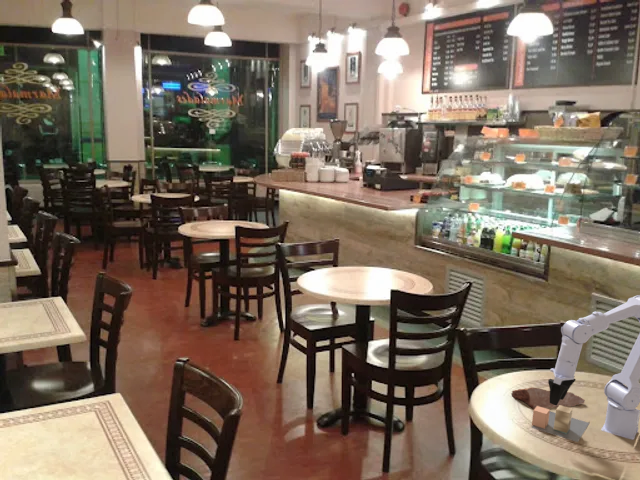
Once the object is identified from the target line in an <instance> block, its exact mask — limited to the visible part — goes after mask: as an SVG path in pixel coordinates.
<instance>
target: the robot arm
mask: <svg viewBox="0 0 640 480" xmlns="http://www.w3.org/2000/svg"><path fill="white" fill-rule="evenodd" d="M631 317H635V319H636V320H638V322H639V324H640V294H637V295H635V296H632V297H629V298H628V299H627V301H626V302H624V303H622V304H620V305H618V306H616V307H614V308H612V309H610V310H608V311H606V312H601V311H596V310H595V311H593V312H592V313H591V314H589V315H587V316H584V317H579V318H578V319H577V320H574V319H570V320H567V321H566V322H565V323H564V324H563V325H562V326H561V328H560V332H561V335H562V337H561V344H560V350H559V353H558V357H557V360H556V363H555V367H553V368H550V370H549V371H550V372H552V373H553V376H554V378H553V379H552V378H549V379H548V381H547V383H548V386H549V391H550V403H551V404H553V405H557V404H558V403H559V401H560V399H561V400H563V399H564V397H565V395H566V393H567V392H569V389H570V388H571V386H572V385H573V384H574V383H575V382H576V378H575V374H576V370H577V366H578V363H579V359H580V354H581V352H582V350H583V349H582V348H583V345H584V344H586V342H588V341H589V339H590V338H591V337H592V336H593V335H596V334H598V333H601V332H603V331H606V330H607V329H608V328H609V326H610V325H611V324H613V323H615V322H619V321H623V320H625V319H628V318H631ZM603 391H604V396H605V397H606V401H607V407H606V413H605V414H606V415H605V422H604V424H603V426H602V427H601V428H600V429H601V431H602V432H605V433H608V434H612V435H615V436H618V437H622V438H625V439H628V440H632V441H633V440H635V438H636V436H637V434H638V431H639V423H640V410H639V409H638V408H637V407H639V405H640V332H639V333H638V335H637V338H636V339H635V343H634V344H633V346H632V348H631V350H630V353H629V354H628V356H627V359H626V361H625V363H624V365H623V368H622V369H621V372H619V373H615V374H613V375H612V377H611V379H610V380H609V381H608V382H607V383H606V384H605V386H604V388H603Z"/></svg>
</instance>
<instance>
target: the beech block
mask: <svg viewBox="0 0 640 480" xmlns="http://www.w3.org/2000/svg"><path fill="white" fill-rule="evenodd" d="M555 413H556V414H555V422H554V430H555V431H558V432H562V433H565V434H567V433H568V431H569V430H570V424H571V418H573V417H572V415H573V408H572V407H569V406H561V405H559V406H558V407H556V409H555Z"/></svg>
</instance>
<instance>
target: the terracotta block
mask: <svg viewBox="0 0 640 480" xmlns="http://www.w3.org/2000/svg"><path fill="white" fill-rule="evenodd" d="M550 411H551V408H543V407H539V406H537V407H536V408H535V409H533V411H532V412H533V413H532V419H531V420H532V421H531V425H532V426H533V425H534V426H538V427H541V428H544V429H545V427H546V426H547V425H548V420H549V412H550Z"/></svg>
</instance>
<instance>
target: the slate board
mask: <svg viewBox="0 0 640 480" xmlns="http://www.w3.org/2000/svg"><path fill="white" fill-rule="evenodd" d="M555 414H556V412H554V411H551V410H550V412H549V420H548V425H547V426H546V427H545V429H544V428H541V427H538V426H534V425H532V426H531V429H534V430H538V431H541V432H544V433H546V434H547V433H548V434H551V435H554V436H557V437H560V438H563V439H567V440H570V441H573V442H577V443H579V441H580V440H581V438H582V436H583V435H584V433H585V431H586V430H587V428H588V426H589V425H590V422H588V421H586V420H585V421H584V420H581V419H578V418H574V417H571V424H570V430H569V431H568V433H567V434H565V433H562V432H558V431H555V430H554V422H555Z"/></svg>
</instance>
